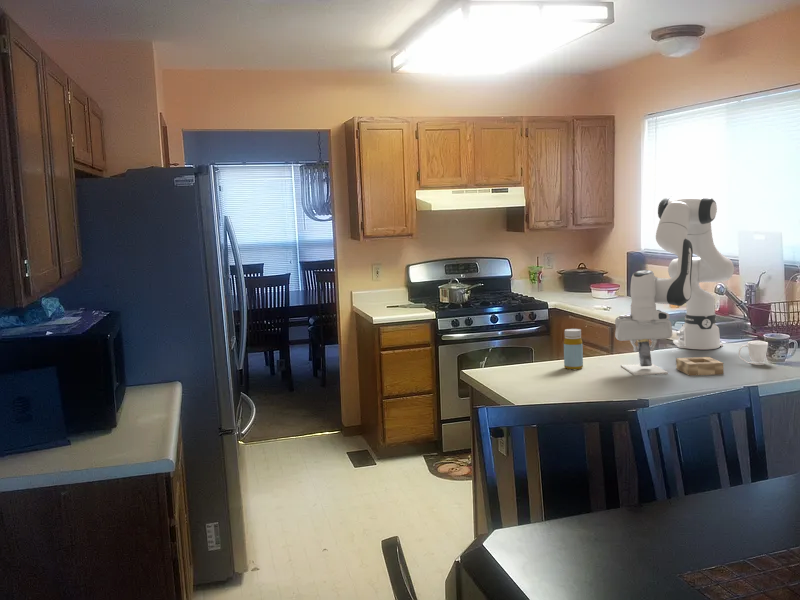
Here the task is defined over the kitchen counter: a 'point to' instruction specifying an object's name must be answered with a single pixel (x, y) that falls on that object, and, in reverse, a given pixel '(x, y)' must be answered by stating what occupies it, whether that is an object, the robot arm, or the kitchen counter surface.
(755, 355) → the cup
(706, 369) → the block
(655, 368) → the mat
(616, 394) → the kitchen counter surface
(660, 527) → the kitchen counter surface
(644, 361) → the peg
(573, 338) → the bottle
